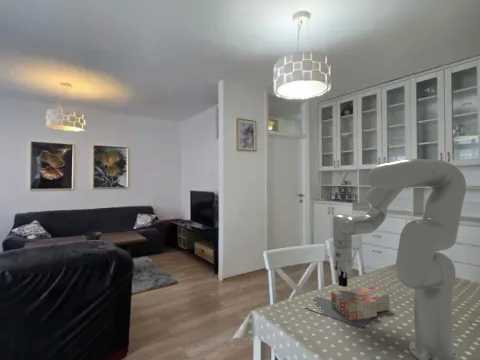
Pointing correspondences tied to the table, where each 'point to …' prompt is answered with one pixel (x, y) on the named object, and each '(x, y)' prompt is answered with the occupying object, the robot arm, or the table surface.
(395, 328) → the table surface
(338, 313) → the mat
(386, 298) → the stack of blocks
